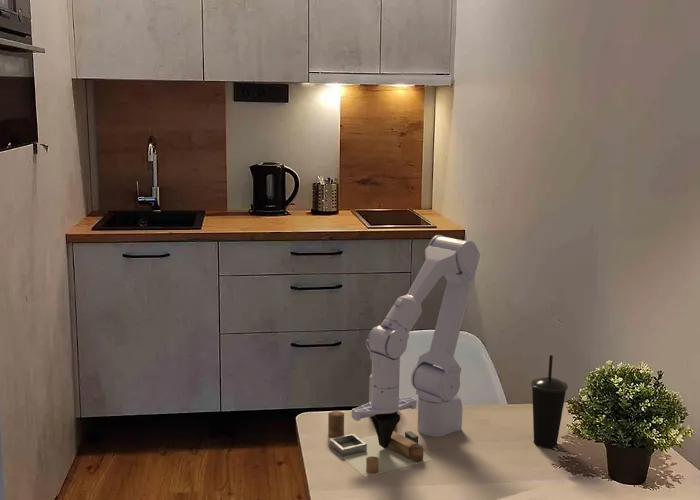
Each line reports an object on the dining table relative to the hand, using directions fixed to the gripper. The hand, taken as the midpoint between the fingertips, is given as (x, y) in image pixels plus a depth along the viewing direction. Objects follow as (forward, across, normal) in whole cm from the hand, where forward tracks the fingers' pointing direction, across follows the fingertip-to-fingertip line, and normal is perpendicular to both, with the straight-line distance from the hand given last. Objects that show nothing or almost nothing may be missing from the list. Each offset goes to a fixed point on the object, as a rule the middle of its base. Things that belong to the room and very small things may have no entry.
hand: (383, 445), depth 166 cm
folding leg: (+1, -3, +3) cm, 4 cm away
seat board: (+2, +1, +1) cm, 3 cm away
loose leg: (+2, +5, -11) cm, 12 cm away
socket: (+1, +6, -4) cm, 8 cm away
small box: (+2, -11, -19) cm, 22 cm away
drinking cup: (+2, -34, +11) cm, 36 cm away
